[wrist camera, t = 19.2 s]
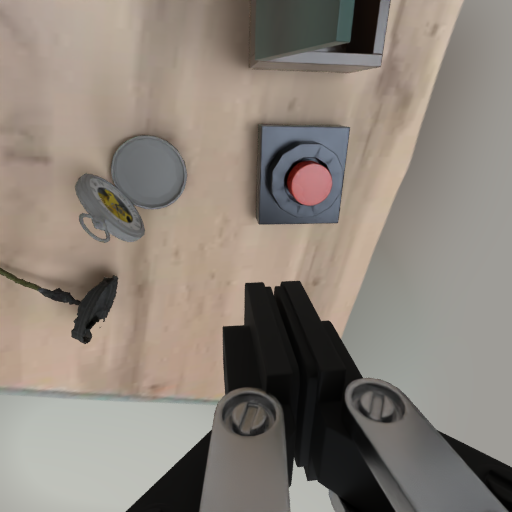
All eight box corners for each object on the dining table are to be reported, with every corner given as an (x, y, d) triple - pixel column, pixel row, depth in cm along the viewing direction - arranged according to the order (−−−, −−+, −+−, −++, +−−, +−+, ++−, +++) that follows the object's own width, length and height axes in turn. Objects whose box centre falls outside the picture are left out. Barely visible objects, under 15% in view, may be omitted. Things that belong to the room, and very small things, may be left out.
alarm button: (288, 160, 30) (292, 163, 29) (328, 160, 31) (334, 163, 29) (285, 200, 32) (289, 206, 30) (324, 200, 32) (330, 205, 31)
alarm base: (258, 124, 32) (264, 126, 29) (341, 125, 33) (358, 128, 30) (255, 217, 36) (261, 230, 32) (331, 216, 37) (344, 229, 33)
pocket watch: (195, 148, 32) (191, 167, 23) (172, 231, 35) (161, 276, 26) (102, 117, 30) (59, 125, 21) (87, 207, 33) (42, 248, 24)
